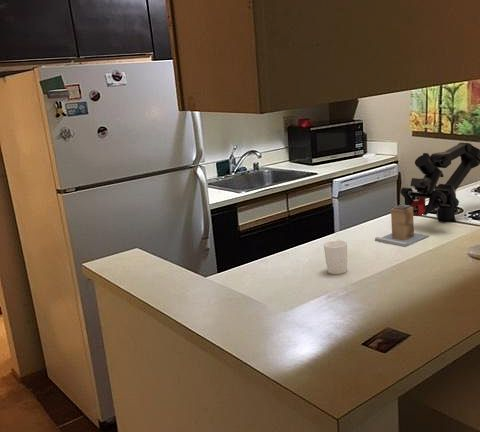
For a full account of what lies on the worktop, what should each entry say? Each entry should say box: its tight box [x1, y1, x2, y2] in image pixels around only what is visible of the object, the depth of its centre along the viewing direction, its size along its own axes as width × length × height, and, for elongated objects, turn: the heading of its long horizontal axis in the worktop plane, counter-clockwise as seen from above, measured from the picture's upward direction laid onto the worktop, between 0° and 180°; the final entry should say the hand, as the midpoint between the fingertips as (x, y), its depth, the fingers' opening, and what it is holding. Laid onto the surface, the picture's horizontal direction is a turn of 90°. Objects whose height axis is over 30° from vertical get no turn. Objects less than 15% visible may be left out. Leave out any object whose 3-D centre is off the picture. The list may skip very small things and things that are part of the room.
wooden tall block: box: [390, 204, 415, 241], centre depth 217 cm, size 6×6×13 cm
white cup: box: [323, 239, 348, 275], centre depth 191 cm, size 8×8×10 cm
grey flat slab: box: [374, 232, 430, 248], centre depth 218 cm, size 16×14×1 cm
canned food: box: [411, 187, 426, 217], centre depth 249 cm, size 8×8×11 cm
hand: (414, 213), depth 221 cm, fingers open, 9 cm apart
